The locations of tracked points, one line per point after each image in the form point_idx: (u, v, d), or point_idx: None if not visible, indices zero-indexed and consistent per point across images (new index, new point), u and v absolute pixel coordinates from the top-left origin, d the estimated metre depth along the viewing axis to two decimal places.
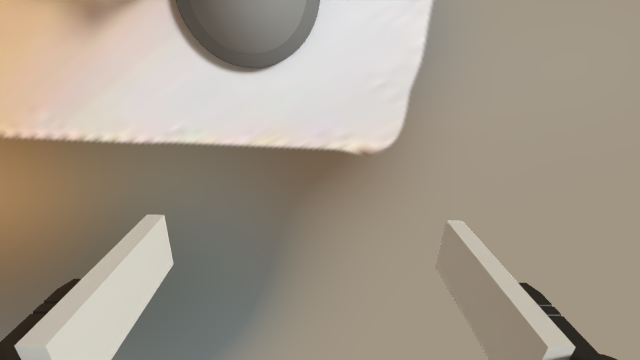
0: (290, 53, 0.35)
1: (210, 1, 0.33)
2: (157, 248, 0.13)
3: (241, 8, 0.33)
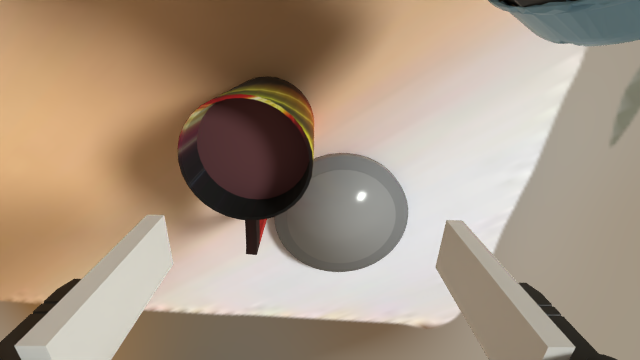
0: (372, 263, 0.39)
1: (306, 227, 0.36)
2: (157, 248, 0.13)
3: (333, 232, 0.37)
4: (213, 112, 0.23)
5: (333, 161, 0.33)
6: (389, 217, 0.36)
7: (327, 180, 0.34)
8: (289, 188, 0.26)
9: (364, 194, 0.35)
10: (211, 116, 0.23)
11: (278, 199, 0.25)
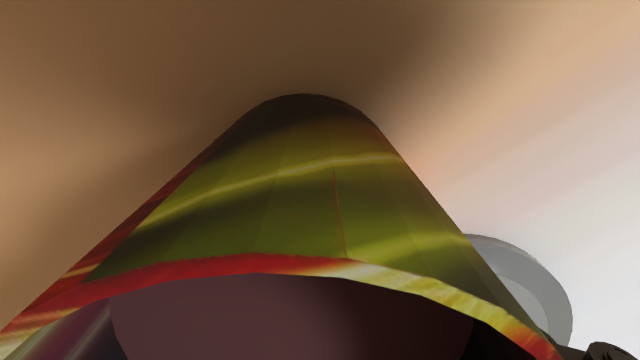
0: None
1: None
2: None
3: None
4: None
5: None
6: None
7: None
8: None
9: None
10: None
11: None
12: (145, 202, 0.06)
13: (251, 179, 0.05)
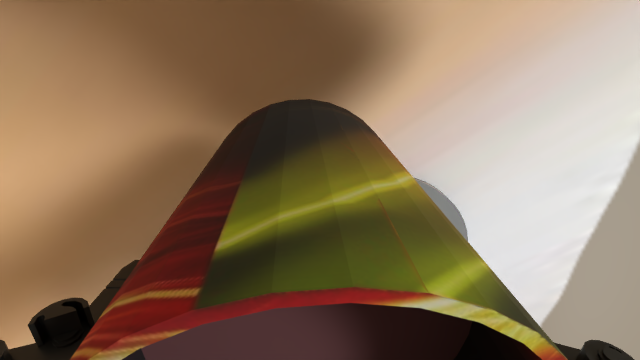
0: None
1: None
2: None
3: None
4: None
5: None
6: None
7: None
8: None
9: None
10: None
11: None
12: (194, 216, 0.06)
13: (311, 205, 0.05)
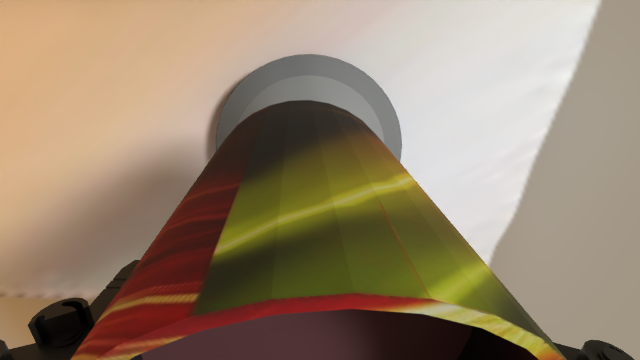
0: None
1: None
2: None
3: None
4: None
5: (289, 63, 0.23)
6: None
7: (284, 93, 0.24)
8: None
9: None
10: None
11: None
12: (193, 218, 0.06)
13: (311, 208, 0.05)
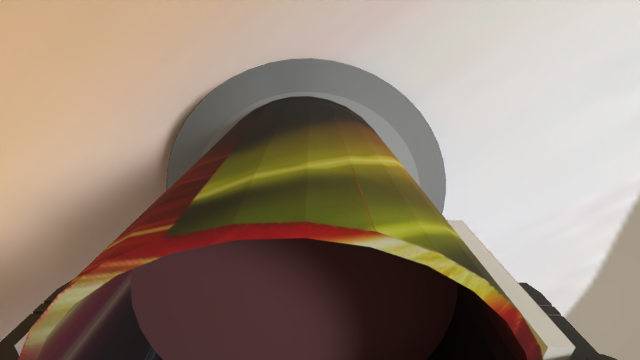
0: None
1: None
2: None
3: None
4: None
5: (276, 72, 0.15)
6: None
7: None
8: None
9: None
10: None
11: None
12: (183, 182, 0.06)
13: (286, 168, 0.06)
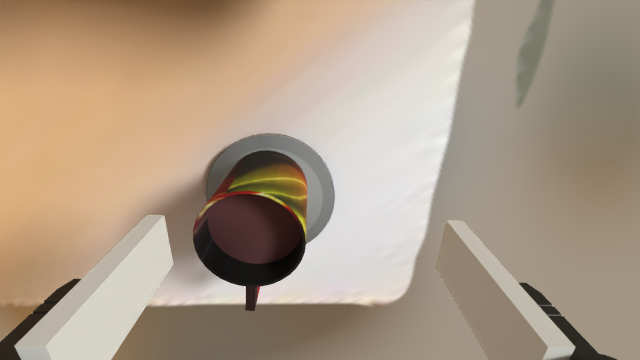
0: (308, 240, 0.40)
1: None
2: (157, 248, 0.13)
3: None
4: None
5: (253, 141, 0.35)
6: (316, 192, 0.37)
7: None
8: (285, 255, 0.30)
9: None
10: None
11: (275, 265, 0.29)
12: (224, 185, 0.27)
13: (247, 181, 0.26)
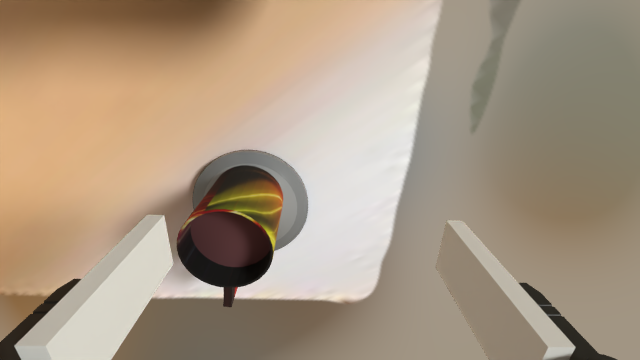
0: (284, 244, 0.45)
1: None
2: (157, 248, 0.13)
3: None
4: None
5: (234, 157, 0.39)
6: (291, 203, 0.42)
7: None
8: (258, 260, 0.35)
9: None
10: None
11: (249, 269, 0.34)
12: (204, 201, 0.31)
13: (224, 199, 0.30)
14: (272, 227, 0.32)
